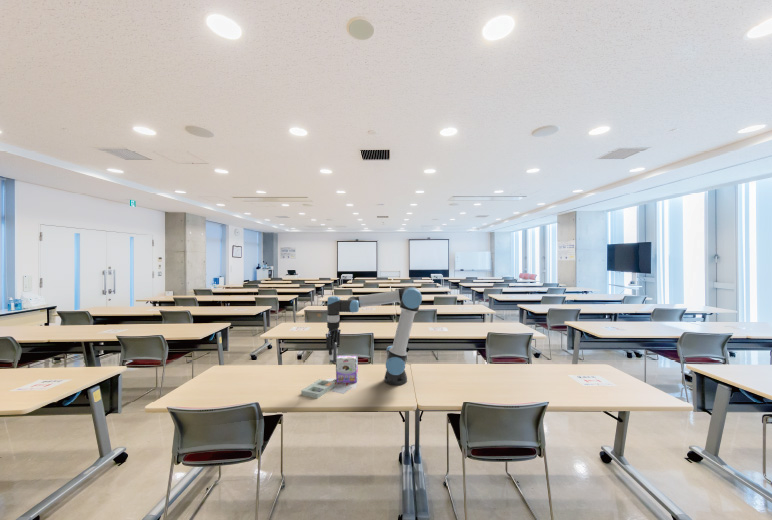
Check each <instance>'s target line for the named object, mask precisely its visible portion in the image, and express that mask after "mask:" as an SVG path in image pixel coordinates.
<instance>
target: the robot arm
mask: <svg viewBox="0 0 772 520" xmlns="http://www.w3.org/2000/svg"><path fill="white" fill-rule="evenodd" d="M422 301H423V296H422V293H421V291H420V290H419V288H417V287H416V286H414V285H413V286H411V285H409V286H404V287H401V288H396V290H391V291H386V292H379V293H371V294H365V295H359V296H350V297H349V298H347V299H341V298H340V297H339V296H336V295H332V296H328V298H327V303H326V305H327V306H326V307H327V309H326V312H327V313H326V314H327V315H326V316H327V319H326V321H327V322H326V323H327V324H326V328H327V329H328V332H327V333H325V339H326V340H325V341H326V343H325V345H326V350H328V360H329V361H330V360H333V342H337V352H338V348H340V344H341V329H339V328H340V319H341V318H340V313H352V314H354V313H359V309H360V308H365V307H373V306H381V305H386V304H387V305H388V304H393V303H399V308H400V310H401V311H400V315H399V319H398V323H397V327H396V332H395V335H394V339H393V343H392V345H389V346H387V347H386V360H385V369H386V371H385V373H384V376H383V377H384V378H383V380H384V383H386V384H388V385H391V386H400V385H404V384H406V383H407V382H408V376H407V372H406V370H405V369H406V361H407V357H408V353H407V346H408V343H409V339H410V334H411V332H412V331H411V330H412V326H413V323H414V318H415V315H416V314H417V313H419V309H420V305H421V304H422Z"/></svg>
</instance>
